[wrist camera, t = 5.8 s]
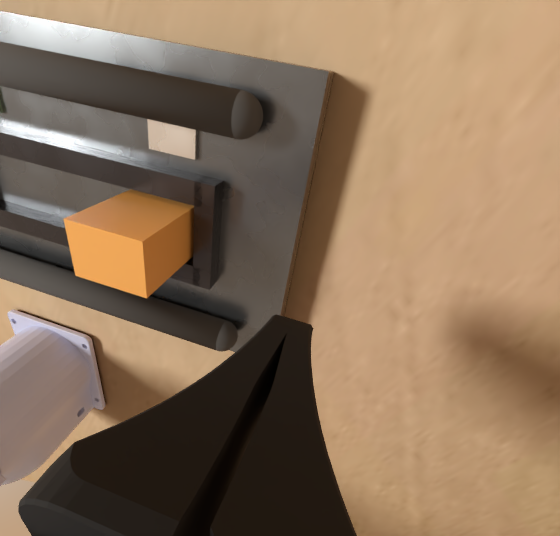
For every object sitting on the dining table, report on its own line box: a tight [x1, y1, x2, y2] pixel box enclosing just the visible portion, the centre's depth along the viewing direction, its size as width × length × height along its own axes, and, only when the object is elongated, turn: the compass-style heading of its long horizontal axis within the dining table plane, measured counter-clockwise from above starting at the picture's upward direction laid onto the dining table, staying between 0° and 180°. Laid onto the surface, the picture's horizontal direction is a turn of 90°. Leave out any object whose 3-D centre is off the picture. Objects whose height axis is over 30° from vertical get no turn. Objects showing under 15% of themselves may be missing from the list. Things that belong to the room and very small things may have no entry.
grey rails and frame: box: [0, 41, 263, 351], centre depth 18 cm, size 14×20×2 cm
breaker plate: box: [0, 11, 334, 352], centre depth 19 cm, size 16×24×2 cm, turn 82°
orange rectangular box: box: [64, 189, 194, 298], centre depth 16 cm, size 3×4×4 cm
